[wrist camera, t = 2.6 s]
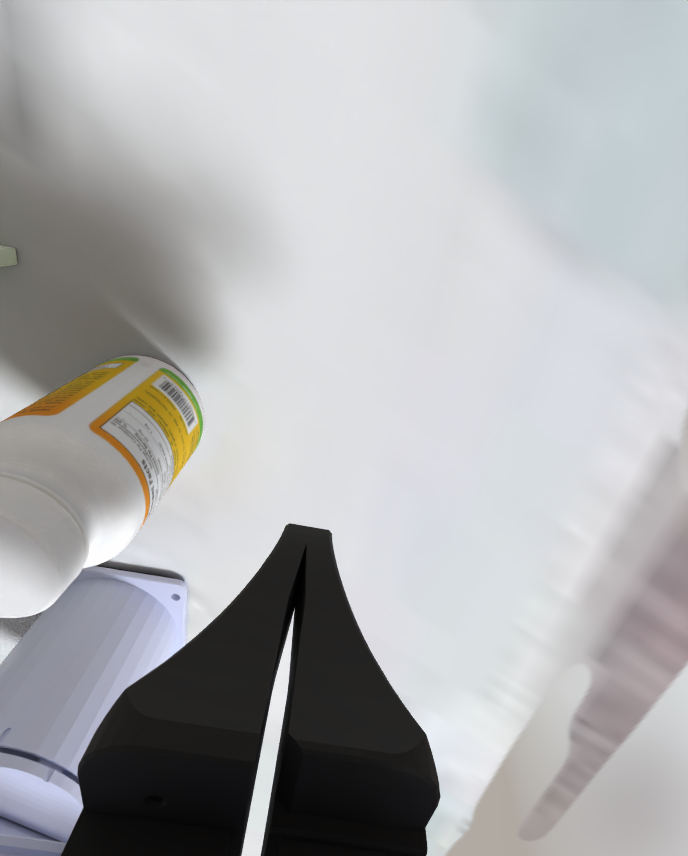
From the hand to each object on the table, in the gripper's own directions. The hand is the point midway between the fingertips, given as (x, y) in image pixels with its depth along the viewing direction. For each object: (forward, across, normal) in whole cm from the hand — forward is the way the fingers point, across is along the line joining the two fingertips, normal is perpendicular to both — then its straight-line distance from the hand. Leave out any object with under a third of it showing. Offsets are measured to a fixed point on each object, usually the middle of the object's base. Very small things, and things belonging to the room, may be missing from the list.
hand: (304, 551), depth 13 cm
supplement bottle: (+8, +8, 0) cm, 11 cm away
